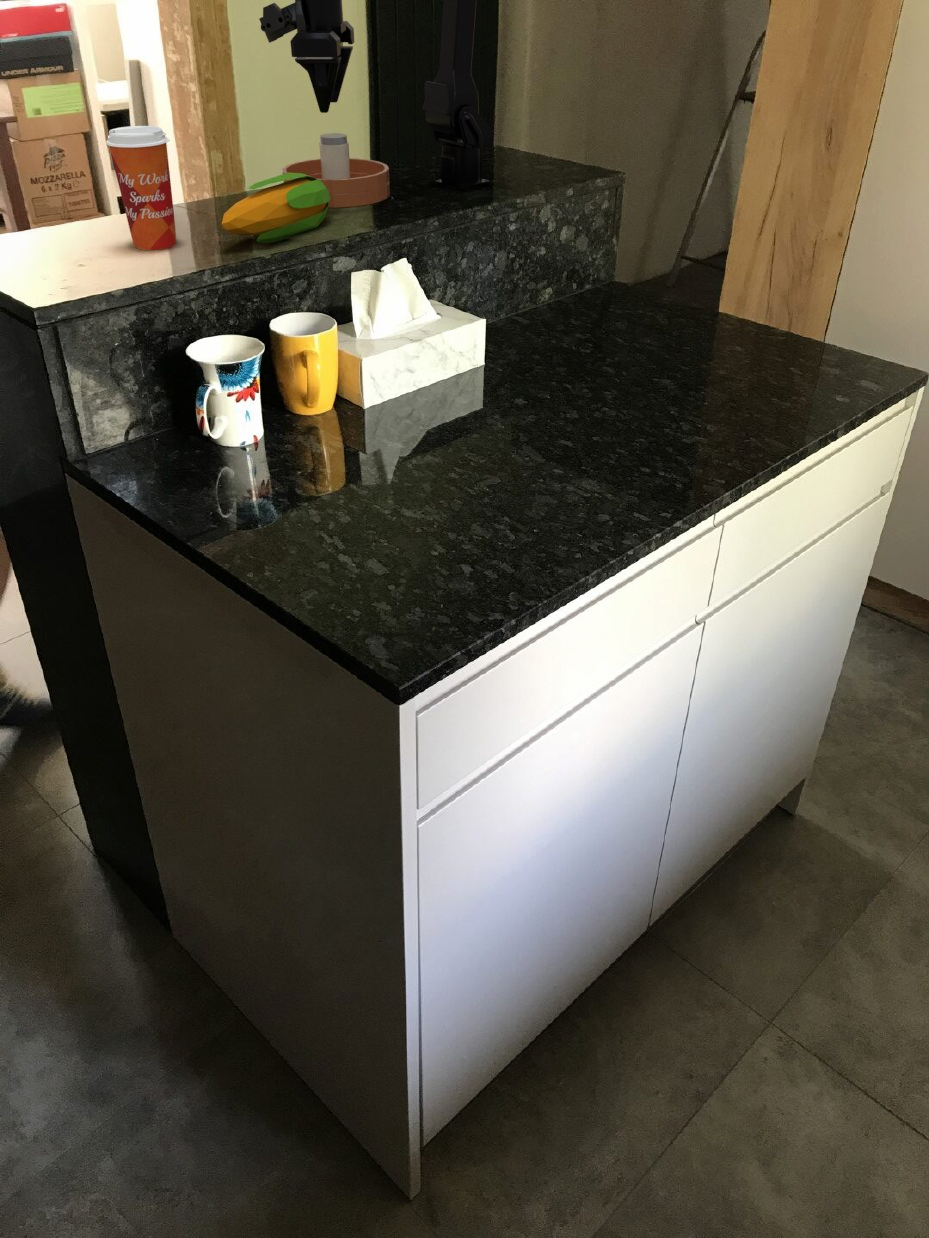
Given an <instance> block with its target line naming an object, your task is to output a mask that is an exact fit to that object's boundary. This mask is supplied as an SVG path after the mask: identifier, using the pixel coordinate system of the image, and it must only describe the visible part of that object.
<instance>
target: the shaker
mask: <svg viewBox="0 0 929 1238" xmlns="http://www.w3.org/2000/svg"><path fill="white" fill-rule="evenodd" d="M319 139H320V140H319V141H320V142H319V143H318V145H319V146H318V147H319V157H320V158H319V159H321V172H322V179H348V178H351V177H350V160H349V158H350V146H349V142H348V136H347V134H345V133H340V132H330V133H323V134H320V136H319Z"/></svg>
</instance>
